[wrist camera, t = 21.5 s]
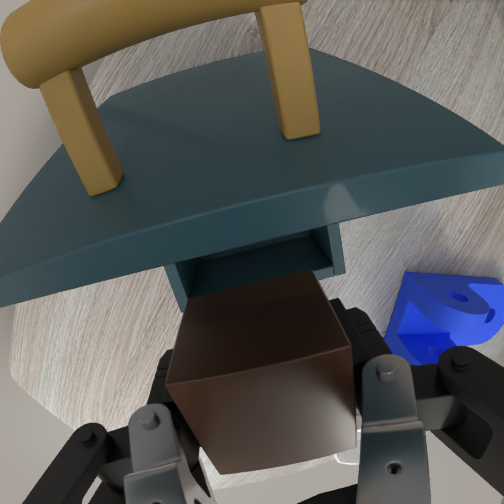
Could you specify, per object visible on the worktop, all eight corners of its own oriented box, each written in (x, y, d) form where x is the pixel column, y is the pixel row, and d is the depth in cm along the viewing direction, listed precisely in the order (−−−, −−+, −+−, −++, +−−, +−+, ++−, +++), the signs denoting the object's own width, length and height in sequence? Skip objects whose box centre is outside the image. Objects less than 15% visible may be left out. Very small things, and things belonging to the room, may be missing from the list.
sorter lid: (504, 185, 5) (507, -68, 1) (-20, 314, 5) (-134, 133, 2) (303, 57, 16) (288, -21, 13) (114, 107, 17) (88, 34, 13)
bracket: (383, 339, 33) (417, 392, 25) (405, 271, 30) (451, 315, 22) (488, 334, 35) (524, 371, 26) (509, 279, 32) (553, 310, 23)
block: (222, 387, 13) (219, 475, 8) (186, 297, 11) (163, 384, 7) (327, 364, 12) (357, 448, 8) (312, 268, 11) (352, 344, 7)
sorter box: (319, 238, 29) (346, 273, 21) (193, 269, 29) (181, 313, 22) (283, 75, 24) (301, 52, 16) (147, 111, 24) (114, 102, 17)
